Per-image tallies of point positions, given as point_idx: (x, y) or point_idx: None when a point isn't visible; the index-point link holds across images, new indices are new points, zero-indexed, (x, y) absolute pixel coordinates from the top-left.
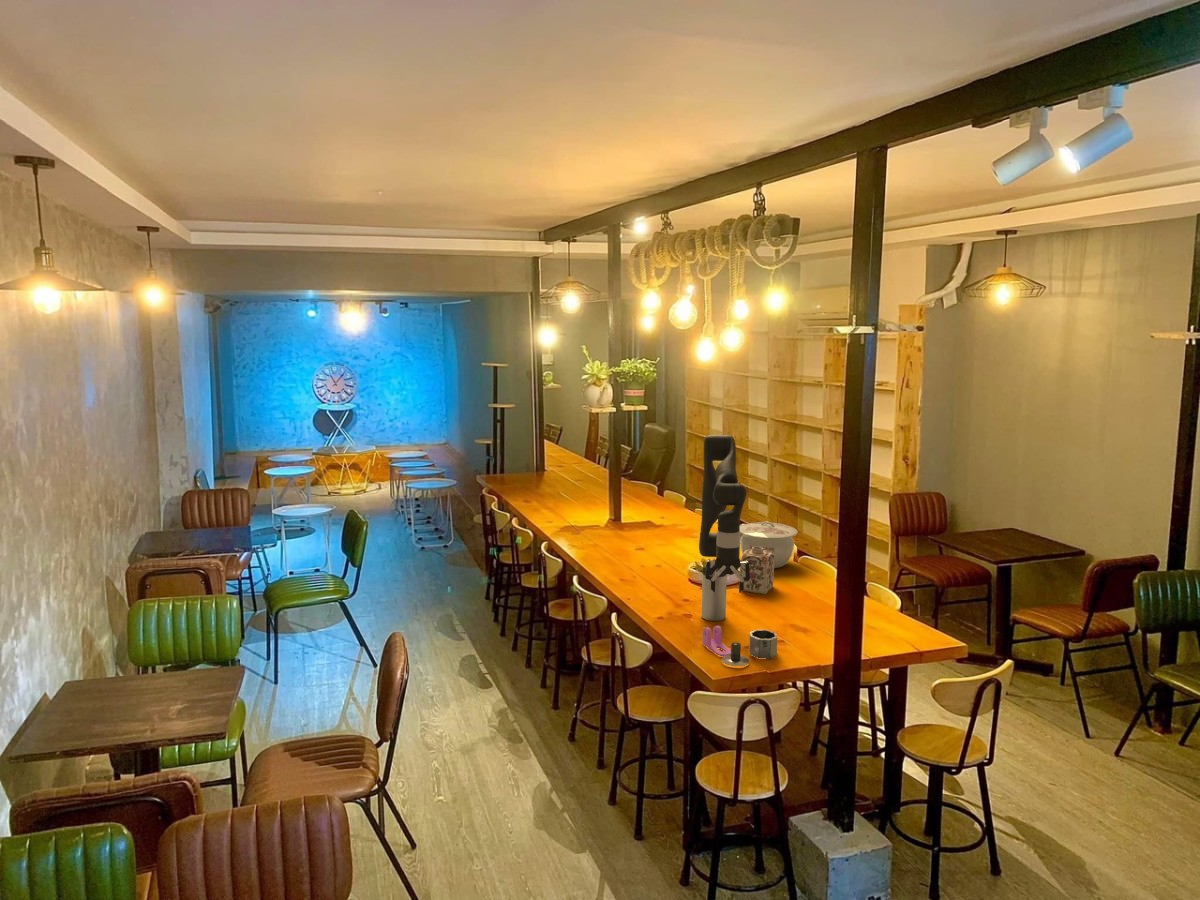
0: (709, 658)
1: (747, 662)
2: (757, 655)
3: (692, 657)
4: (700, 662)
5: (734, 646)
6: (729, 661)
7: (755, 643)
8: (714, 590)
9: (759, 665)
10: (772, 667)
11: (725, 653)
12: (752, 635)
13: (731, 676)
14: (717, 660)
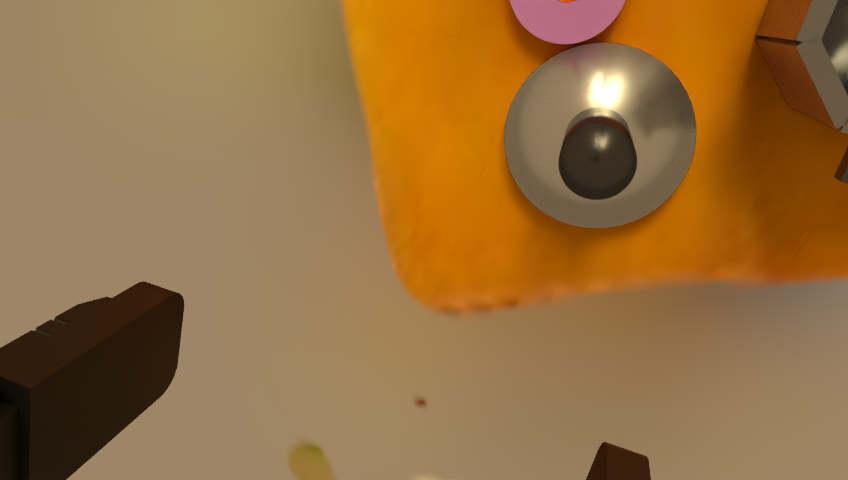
0: (452, 37)
1: (661, 193)
2: (790, 100)
3: (350, 3)
4: (381, 89)
5: (572, 190)
6: (547, 155)
7: (805, 90)
8: (143, 397)
9: (742, 204)
10: (816, 250)
11: (565, 29)
12: (822, 27)
13: (502, 306)
14: (494, 77)
